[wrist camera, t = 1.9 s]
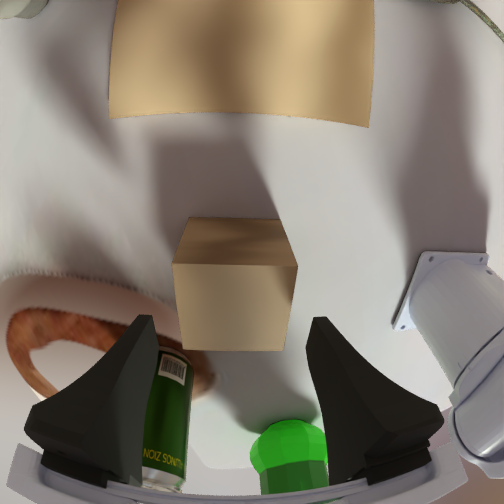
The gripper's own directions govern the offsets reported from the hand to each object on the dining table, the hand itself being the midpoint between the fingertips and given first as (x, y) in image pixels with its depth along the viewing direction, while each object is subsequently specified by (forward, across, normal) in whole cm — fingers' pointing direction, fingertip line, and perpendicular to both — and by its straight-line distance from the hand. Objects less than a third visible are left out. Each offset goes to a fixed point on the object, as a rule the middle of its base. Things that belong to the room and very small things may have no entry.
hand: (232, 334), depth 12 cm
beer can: (+7, +6, +11) cm, 14 cm away
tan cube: (+7, 0, 0) cm, 7 cm away
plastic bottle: (+7, -7, +25) cm, 27 cm away
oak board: (+7, 0, -14) cm, 16 cm away
